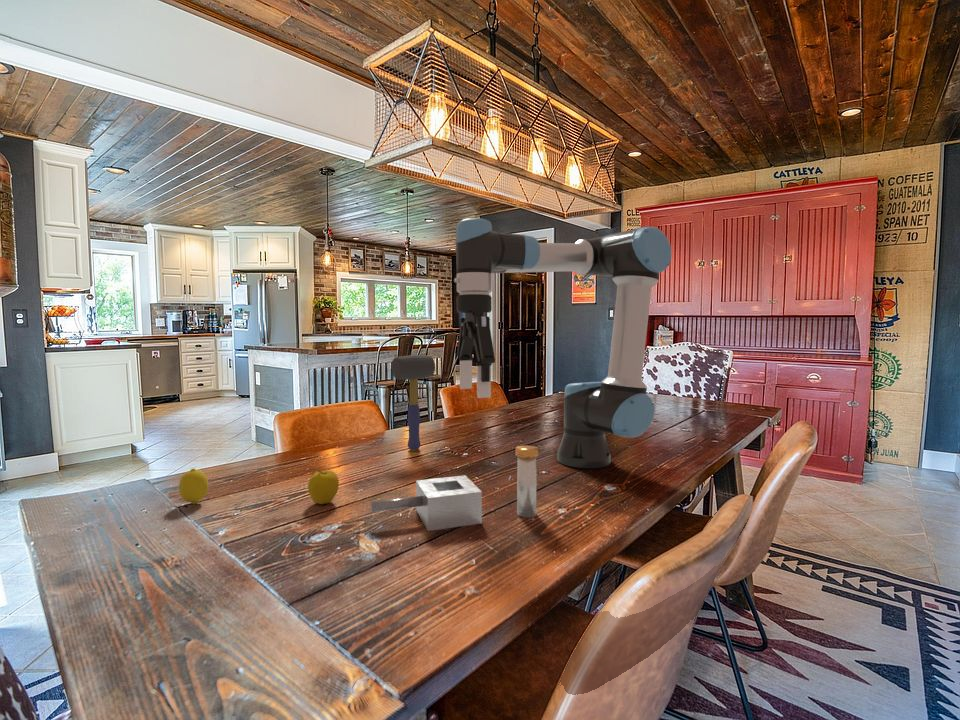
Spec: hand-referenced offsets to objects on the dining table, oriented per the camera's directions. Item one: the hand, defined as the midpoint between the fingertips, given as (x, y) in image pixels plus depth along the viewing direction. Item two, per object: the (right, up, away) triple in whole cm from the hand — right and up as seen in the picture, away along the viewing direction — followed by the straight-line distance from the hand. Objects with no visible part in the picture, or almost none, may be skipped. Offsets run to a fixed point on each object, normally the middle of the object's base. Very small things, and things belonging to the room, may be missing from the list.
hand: (474, 393), depth 105 cm
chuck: (-10, -25, -6) cm, 28 cm away
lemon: (-62, -25, +2) cm, 67 cm away
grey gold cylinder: (+11, -25, -3) cm, 28 cm away
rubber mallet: (-20, -21, +47) cm, 56 cm away
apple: (-33, -25, +2) cm, 42 cm away
